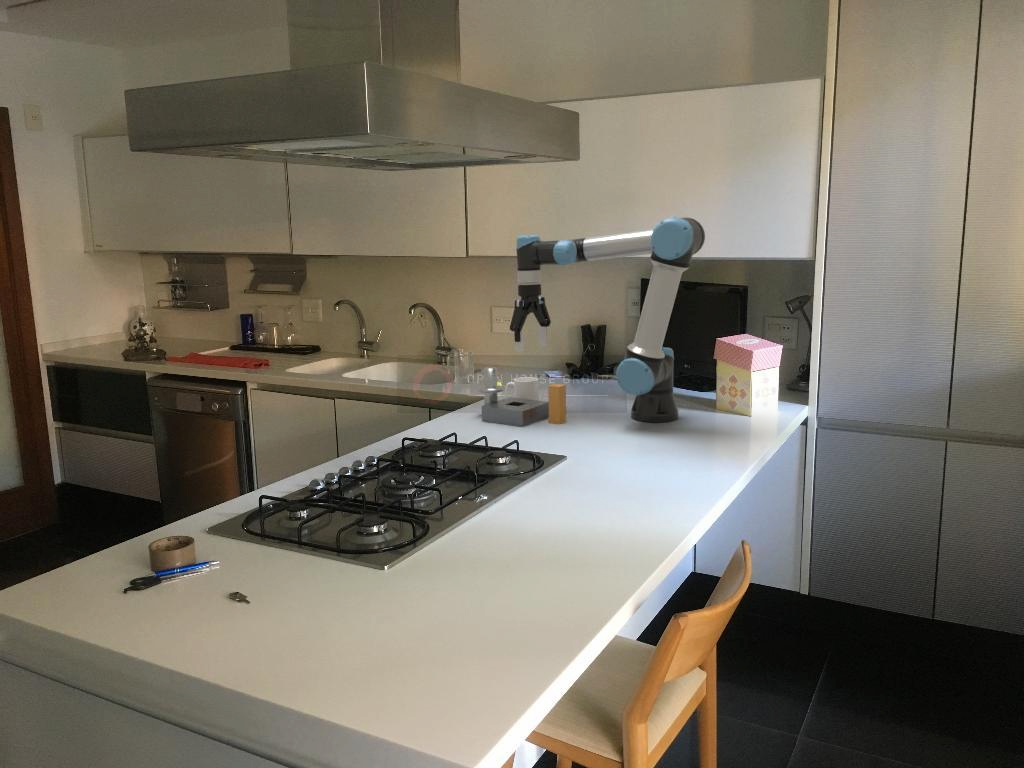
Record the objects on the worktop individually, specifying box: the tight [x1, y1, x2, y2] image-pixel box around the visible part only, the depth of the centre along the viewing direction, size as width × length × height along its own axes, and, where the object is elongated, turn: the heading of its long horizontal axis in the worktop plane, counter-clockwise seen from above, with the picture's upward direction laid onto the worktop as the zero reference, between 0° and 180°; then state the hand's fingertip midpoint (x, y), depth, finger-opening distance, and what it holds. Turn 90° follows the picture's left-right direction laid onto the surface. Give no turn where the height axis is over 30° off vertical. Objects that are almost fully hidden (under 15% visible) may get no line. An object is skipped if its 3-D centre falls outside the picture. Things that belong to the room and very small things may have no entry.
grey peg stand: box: [477, 366, 549, 428], centre depth 273 cm, size 22×16×16 cm
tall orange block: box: [547, 383, 567, 425], centre depth 266 cm, size 4×4×12 cm
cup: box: [504, 376, 540, 401], centre depth 288 cm, size 8×12×10 cm
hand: (531, 349), depth 273 cm, fingers open, 13 cm apart
